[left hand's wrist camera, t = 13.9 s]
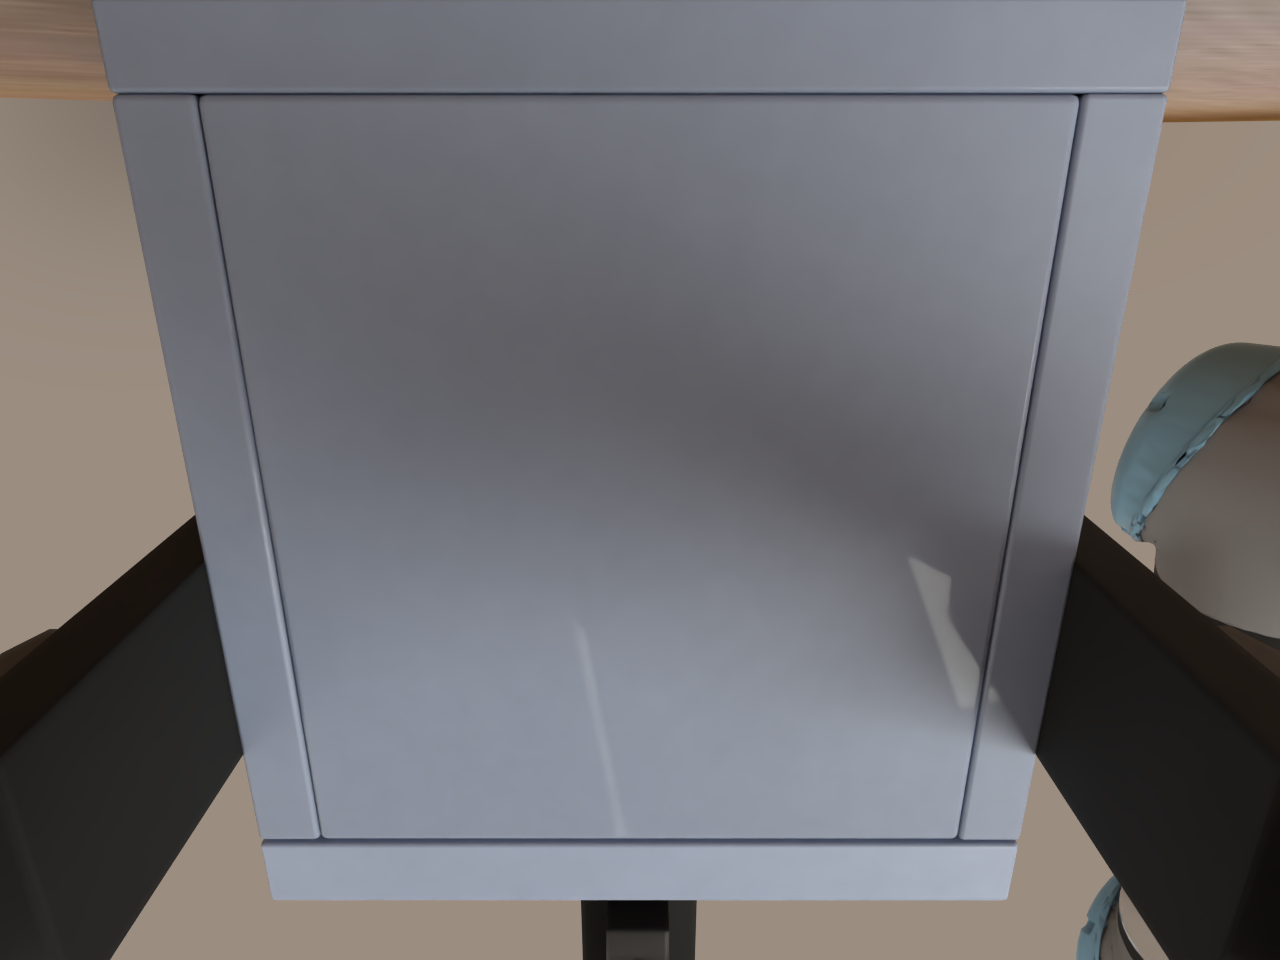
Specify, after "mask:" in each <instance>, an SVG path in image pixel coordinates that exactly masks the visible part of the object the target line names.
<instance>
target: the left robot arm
mask: <svg viewBox="0 0 1280 960" xmlns="http://www.w3.org/2000/svg"><path fill="white" fill-rule="evenodd" d="M242 755H243V750H242V745H241V740H240V735H239V730H238V725H237V720H236V715H235V710H234V705H233V700H232V695H231V690H230V685H229V680H228V675H227V670H226V665H225V660H224V655H223V650H222V645H221V640H220V635H219V630H218V625H217V620H216V615H215V610H214V605H213V600H212V595H211V590H210V585H209V580H208V575H207V570H206V565H205V561H204V556H203V551H202V546H201V541H200V536H199V531H198V526H197V521H196V516H195V515H194V516H193V517H192V518H191V519H190V520H188V521H187V522H186V523H185V524H184V525H182V526H181V527H180V528H179V529H178V530H176V531H175V532H174V533H173V534H172V535H170V536H169V537H168V538H167V539H166V540H164V541H163V542H162V543H161V544H160V545H158V546H157V547H156V548H155V549H154V550H152V551H151V552H150V553H149V554H148V555H146V556H145V557H144V558H143V559H142V560H140V561H139V562H138V563H137V564H136V565H134V566H133V567H132V568H131V569H130V570H128V571H127V572H126V573H125V574H124V575H122V576H121V577H120V578H119V579H118V580H116V581H115V582H114V583H113V584H112V585H110V586H109V587H108V588H107V589H106V590H104V591H103V592H102V593H101V594H100V595H98V596H97V597H96V598H95V599H94V600H92V601H91V602H90V603H89V604H88V605H87V606H85V607H84V608H83V609H82V610H81V611H79V612H78V613H77V614H76V615H74V616H73V617H72V618H71V619H70V620H68V621H67V622H66V623H65V624H64V625H63V626H61V627H60V628H59V629H49V630H47V631H45V632H43V633H41V634H39V635H37V636H35V637H33V638H31V639H29V640H27V641H25V642H23V643H21V644H19V645H17V646H15V647H13V648H11V649H9V650H7V651H5V652H3V653H2V654H0V960H110V959H111V957H112V956H113V954H114V953H115V951H116V950H117V948H118V946H119V945H120V943H121V942H122V940H123V939H124V937H125V936H126V934H127V933H128V931H129V929H130V928H131V926H132V925H133V923H134V922H135V920H136V919H137V917H138V916H139V914H140V913H141V911H142V910H143V908H144V906H145V905H146V903H147V902H148V900H149V899H150V897H151V896H152V894H153V893H154V891H155V889H156V888H157V886H158V885H159V883H160V882H161V880H162V879H163V877H164V876H165V874H166V873H167V871H168V869H169V868H170V866H171V865H172V863H173V862H174V860H175V859H176V857H177V856H178V854H179V852H180V851H181V849H182V848H183V846H184V845H185V843H186V842H187V840H188V839H189V837H190V836H191V834H192V832H193V831H194V829H195V828H196V826H197V825H198V823H199V822H200V820H201V818H202V817H203V816H204V814H205V812H206V811H207V809H208V808H209V806H210V805H211V803H212V802H213V800H214V799H215V797H216V795H217V794H218V792H219V791H220V789H221V788H222V786H223V785H224V783H225V781H226V780H227V778H228V777H229V775H230V774H231V772H232V771H233V769H234V768H235V766H236V765H237V763H238V762H239V760H240V758H241V757H242ZM1036 755H1037V757H1038V758H1039V760H1040V762H1041V763H1042V765H1043V766H1044V768H1045V769H1046V771H1047V772H1048V774H1049V775H1050V777H1051V779H1052V780H1053V782H1054V783H1055V785H1056V786H1057V788H1058V789H1059V791H1060V792H1061V794H1062V795H1063V797H1064V799H1065V800H1066V802H1067V803H1068V805H1069V806H1070V808H1071V809H1072V811H1073V812H1074V814H1075V816H1076V817H1077V819H1078V820H1079V822H1080V823H1081V825H1082V826H1083V828H1084V829H1085V831H1086V832H1087V834H1088V836H1089V837H1090V839H1091V840H1092V842H1093V843H1094V845H1095V846H1096V848H1097V849H1098V851H1099V853H1100V854H1101V856H1102V857H1103V859H1104V860H1105V862H1106V863H1107V865H1108V866H1109V868H1110V869H1111V871H1112V873H1113V874H1114V876H1115V877H1116V879H1117V880H1118V882H1119V883H1120V885H1121V886H1122V888H1123V890H1124V891H1125V893H1126V894H1127V896H1128V897H1129V899H1130V900H1131V902H1132V903H1133V905H1134V906H1135V908H1136V910H1137V911H1138V913H1139V914H1140V916H1141V917H1142V919H1143V920H1144V922H1145V923H1146V925H1147V927H1148V928H1149V930H1150V931H1151V933H1152V934H1153V936H1154V937H1155V939H1156V940H1157V942H1158V943H1159V945H1160V947H1161V948H1162V950H1163V951H1164V953H1165V954H1166V956H1167V957H1168V959H1169V960H1280V651H1279V650H1277V649H1275V648H1273V647H1271V646H1269V645H1267V644H1265V643H1263V642H1261V641H1259V640H1257V639H1255V638H1253V637H1251V636H1249V635H1247V634H1245V633H1243V632H1241V631H1239V630H1237V629H1235V628H1233V627H1231V626H1216V625H1215V624H1214V623H1213V622H1212V621H1210V620H1209V619H1208V618H1207V617H1206V616H1204V615H1203V614H1202V613H1201V612H1200V611H1198V610H1197V609H1196V608H1195V607H1194V606H1192V605H1191V604H1190V603H1189V602H1188V601H1186V600H1185V599H1184V598H1183V597H1182V596H1180V595H1179V594H1178V593H1177V592H1176V591H1174V590H1173V589H1172V588H1171V587H1170V586H1168V585H1167V584H1166V583H1165V582H1164V581H1162V580H1161V579H1160V578H1159V577H1158V576H1156V575H1155V574H1154V573H1153V572H1152V571H1151V570H1149V569H1148V568H1147V567H1146V566H1145V565H1143V564H1142V563H1141V562H1140V561H1139V560H1137V559H1136V558H1135V557H1134V556H1133V555H1131V554H1130V553H1129V552H1128V551H1127V550H1125V549H1124V548H1123V547H1122V546H1120V545H1119V544H1118V543H1117V542H1116V541H1115V540H1113V539H1112V538H1111V537H1110V536H1109V535H1107V534H1106V533H1105V532H1104V531H1103V530H1101V529H1100V528H1099V527H1098V526H1097V525H1095V524H1094V523H1093V522H1092V521H1091V520H1089V519H1088V518H1087V517H1086V516H1085V515H1084V517H1083V522H1082V527H1081V532H1080V537H1079V542H1078V547H1077V552H1076V557H1075V562H1074V567H1073V572H1072V577H1071V582H1070V587H1069V592H1068V597H1067V602H1066V607H1065V612H1064V617H1063V622H1062V627H1061V632H1060V637H1059V642H1058V647H1057V652H1056V657H1055V662H1054V667H1053V672H1052V677H1051V682H1050V687H1049V692H1048V697H1047V702H1046V707H1045V712H1044V717H1043V722H1042V727H1041V732H1040V737H1039V742H1038V747H1037V752H1036Z"/></svg>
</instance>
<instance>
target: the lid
mask: <svg viewBox="0 0 1280 960" xmlns="http://www.w3.org/2000/svg"><path fill="white" fill-rule="evenodd" d="M261 848H262V853H263V858H264V863H265V868H266V872H267V878H268V883H269V888H270V893H271V897H272V899H274V900H1006V899H1007V897H1008V892H1009V887H1010V883H1011V877H1012V873H1013V868H1014V863H1015V857H1016V853H1017V848H1018V845H1017V842H1016V840H963V839H961V838H960V837H959V836H958V834H957V836H956V837H954V838H325V837H323V836H322V834H320V836H319V837H318V838H315V839H264V840H263V842H262V844H261Z"/></svg>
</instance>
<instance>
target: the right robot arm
mask: <svg viewBox="0 0 1280 960" xmlns="http://www.w3.org/2000/svg"><path fill="white" fill-rule="evenodd" d="M1111 510H1112V515H1113V518H1114V520H1115V522H1116V523H1117V524H1118V525H1119V526H1120V527H1121V528H1122V530H1123V531H1124V532H1126V533H1127V534H1129V535H1131V537H1132V538H1133V540H1135V541H1140V542H1150V543H1152V544H1154V545H1155V547H1156V556H1155V568H1154V574H1155V575H1156V576H1158V577H1159V578H1160V579H1161V580H1162V581H1164V582H1165V583H1166V584H1167V585H1168V586H1170V587H1171V588H1172V589H1173V590H1174V591H1176V592H1177V593H1178V594H1179V595H1180V596H1182V597H1183V598H1184V599H1185V600H1186V601H1188V602H1189V603H1190V604H1191V605H1192V606H1194V607H1195V608H1196V609H1197V610H1198V611H1200V612H1201V613H1202V614H1203V615H1204V616H1206V617H1207V618H1208V619H1209V620H1210V621H1212V622H1213V623H1214V624H1215V625H1216V626H1231V627H1233V628H1235V629H1237V630H1239V631H1241V632H1243V633H1245V634H1247V635H1249V636H1251V637H1253V638H1255V639H1257V640H1259V641H1261V642H1263V643H1265V644H1267V645H1269V646H1271V647H1273V648H1275V649H1277V650H1279V651H1280V347H1279V346H1270V345H1262V344H1253V343H1229V344H1224V345H1221V346H1218V347H1215V348H1212V349H1210V350H1208V351H1206V352H1204V353H1202V354H1200V355H1198V356H1197V357H1195V358H1194V359H1192V360H1191V361H1189V362H1188V363H1187V364H1185V365H1184V366H1183V367H1182V368H1181V369H1179V370H1178V371H1177V372H1176V373H1175V374H1174V375H1173V376H1172V377H1171V378H1170V379H1169V380H1168V381H1167V382H1166V384H1165V385H1164V386H1163V387H1162V388H1161V389H1160V390H1159V391H1158V393H1157V394H1156V395H1155V397H1154V398H1153V400H1152V401H1151V403H1150V404H1149V406H1148V407H1147V408H1146V410H1145V411H1144V412H1143V414H1142V415H1141V417H1140V419H1139V420H1138V422H1137V424H1136V425H1135V427H1134V429H1133V431H1132V433H1131V435H1130V437H1129V438H1128V441H1127V443H1126V445H1125V447H1124V449H1123V452H1122V454H1121V457H1120V459H1119V463H1118V466H1117V469H1116V472H1115V476H1114V480H1113V484H1112V491H1111ZM696 902H697V900H581V912H582V944H583V960H695V933H696ZM1087 917H1088V922H1087V924H1086V926H1084V927H1083V928H1082V929H1081V931H1080V935H1079V939H1078V945H1077V953H1076V960H1169V959H1168V957H1167V956H1166V954H1165V953H1164V951H1163V950H1162V948H1161V947H1160V945H1159V943H1158V942H1157V940H1156V939H1155V937H1154V936H1153V934H1152V933H1151V931H1150V930H1149V928H1148V927H1147V925H1146V923H1145V922H1144V920H1143V919H1142V917H1141V916H1140V914H1139V913H1138V911H1137V910H1136V908H1135V906H1134V905H1133V903H1132V902H1131V900H1130V899H1129V897H1128V896H1127V894H1126V893H1125V891H1124V890H1123V888H1122V886H1121V885H1120V883H1119V882H1118V880H1117V879H1116V877H1115V876H1113V877H1111V878H1110V879H1109V881H1108V882H1107V883H1106V884H1105V885H1104V886H1103V888H1102V889H1101V890H1100V892H1099V893H1098V894H1097V896H1096V898H1095V899H1094V901H1093V903H1092V905H1091V906H1090V909H1089V911H1088V913H1087Z"/></svg>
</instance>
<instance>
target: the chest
mask: <svg viewBox="0 0 1280 960" xmlns="http://www.w3.org/2000/svg"><path fill="white" fill-rule="evenodd" d="M1186 3H1187V2H1186V0H92V7H93V12H94V17H95V22H96V27H97V32H98V37H99V42H100V47H101V52H102V57H103V62H104V67H105V72H106V77H107V82H108V87H109V89H110V90H111V91H112V92H114V93H118V95H116V96H114V97H113V106H114V111H115V116H116V121H117V126H118V131H119V136H120V141H121V146H122V151H123V156H124V161H125V166H126V171H127V176H128V181H129V186H130V191H131V196H132V201H133V206H134V211H135V216H136V221H137V226H138V231H139V236H140V241H141V246H142V251H143V256H144V261H145V266H146V271H147V276H148V281H149V286H150V291H151V296H152V301H153V306H154V311H155V316H156V321H157V326H158V331H159V336H160V341H161V346H162V351H163V356H164V361H165V366H166V371H167V376H168V381H169V386H170V391H171V396H172V401H173V406H174V411H175V416H176V421H177V426H178V431H179V436H180V441H181V446H182V451H183V456H184V461H185V466H186V471H187V476H188V481H189V486H190V491H191V495H192V501H193V506H194V511H195V516H196V521H197V526H198V531H199V536H200V541H201V546H202V551H203V556H204V561H205V565H206V570H207V575H208V580H209V585H210V590H211V595H212V600H213V605H214V610H215V615H216V620H217V625H218V630H219V635H220V640H221V645H222V650H223V655H224V660H225V665H226V670H227V675H228V680H229V685H230V690H231V695H232V700H233V705H234V710H235V715H236V720H237V725H238V730H239V735H240V740H241V745H242V750H243V755H244V760H245V765H246V770H247V775H248V780H249V785H250V790H251V795H252V800H253V805H254V810H255V815H256V820H257V825H258V830H259V835H260V837H261V838H263V839H315V838H318V837H319V836H320V834H322V836H323V837H325V838H954V837H956V836H957V834H958V836H959V837H960V838H961V839H963V840H1016V839H1018V838H1019V837H1020V833H1021V828H1022V823H1023V818H1024V813H1025V808H1026V803H1027V798H1028V792H1029V787H1030V783H1031V778H1032V773H1033V768H1034V763H1035V758H1036V752H1037V747H1038V742H1039V737H1040V732H1041V727H1042V722H1043V717H1044V712H1045V707H1046V702H1047V697H1048V692H1049V687H1050V682H1051V677H1052V672H1053V667H1054V662H1055V657H1056V652H1057V647H1058V642H1059V637H1060V632H1061V627H1062V622H1063V617H1064V612H1065V607H1066V602H1067V597H1068V592H1069V587H1070V582H1071V577H1072V572H1073V567H1074V562H1075V557H1076V552H1077V547H1078V542H1079V537H1080V532H1081V527H1082V522H1083V517H1084V512H1085V507H1086V502H1087V497H1088V492H1089V487H1090V482H1091V477H1092V472H1093V467H1094V462H1095V457H1096V452H1097V447H1098V442H1099V437H1100V432H1101V427H1102V422H1103V417H1104V412H1105V407H1106V402H1107V397H1108V392H1109V387H1110V382H1111V377H1112V372H1113V367H1114V362H1115V357H1116V352H1117V347H1118V342H1119V337H1120V332H1121V327H1122V322H1123V317H1124V312H1125V307H1126V302H1127V297H1128V292H1129V287H1130V282H1131V277H1132V272H1133V267H1134V262H1135V257H1136V251H1137V247H1138V242H1139V236H1140V232H1141V227H1142V221H1143V217H1144V212H1145V207H1146V202H1147V197H1148V191H1149V186H1150V182H1151V177H1152V172H1153V166H1154V161H1155V156H1156V151H1157V146H1158V141H1159V136H1160V131H1161V126H1162V121H1163V116H1164V111H1165V106H1166V101H1167V98H1166V96H1165V95H1163V94H1161V93H1164V92H1166V91H1167V90H1168V89H1169V87H1170V83H1171V78H1172V73H1173V68H1174V63H1175V58H1176V53H1177V48H1178V43H1179V38H1180V33H1181V28H1182V23H1183V18H1184V13H1185V8H1186Z"/></svg>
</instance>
